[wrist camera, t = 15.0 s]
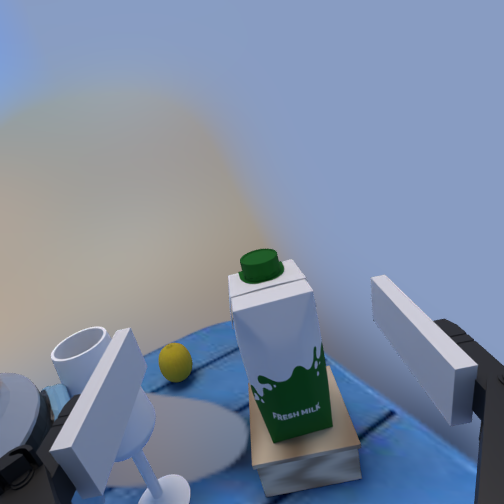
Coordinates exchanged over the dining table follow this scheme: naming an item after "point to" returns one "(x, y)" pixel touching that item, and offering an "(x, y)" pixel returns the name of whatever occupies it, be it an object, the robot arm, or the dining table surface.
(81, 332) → the champagne flute
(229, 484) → the dining table surface
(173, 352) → the lemon
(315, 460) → the oak riser
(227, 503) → the dining table surface
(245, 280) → the fresh milk carton
